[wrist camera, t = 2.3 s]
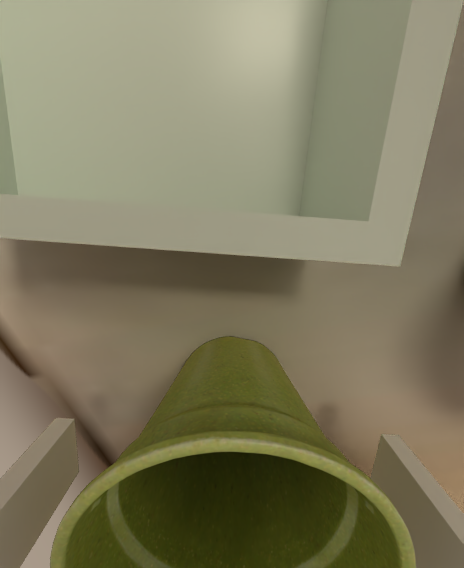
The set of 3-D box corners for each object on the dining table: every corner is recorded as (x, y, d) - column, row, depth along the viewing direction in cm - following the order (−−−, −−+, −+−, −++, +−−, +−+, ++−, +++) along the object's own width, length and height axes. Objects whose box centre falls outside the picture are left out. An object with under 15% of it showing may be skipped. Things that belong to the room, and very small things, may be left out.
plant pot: (214, 467, 16) (198, 729, 8) (121, 364, 14) (-35, 564, 6) (336, 397, 15) (474, 616, 7) (251, 275, 13) (290, 365, 5)
